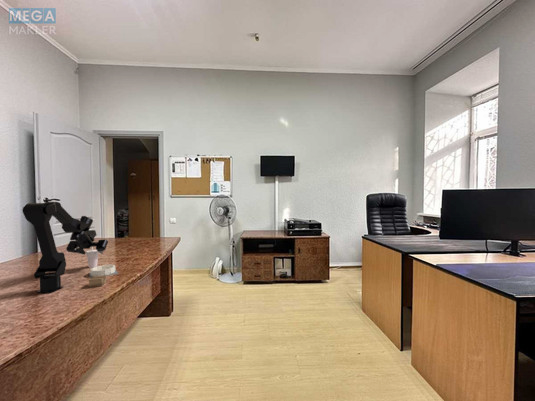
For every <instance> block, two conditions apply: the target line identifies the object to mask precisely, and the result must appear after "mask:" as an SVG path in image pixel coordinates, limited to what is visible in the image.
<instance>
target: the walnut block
mask: <svg viewBox="0 0 535 401" xmlns="http://www.w3.org/2000/svg"><path fill="white" fill-rule="evenodd" d="M106 283H107V276H106V275H103V276H94V277H92V278H91V279H90V278H89V279H88V288H99V287H103V286H104V285H105V284H106Z"/></svg>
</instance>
